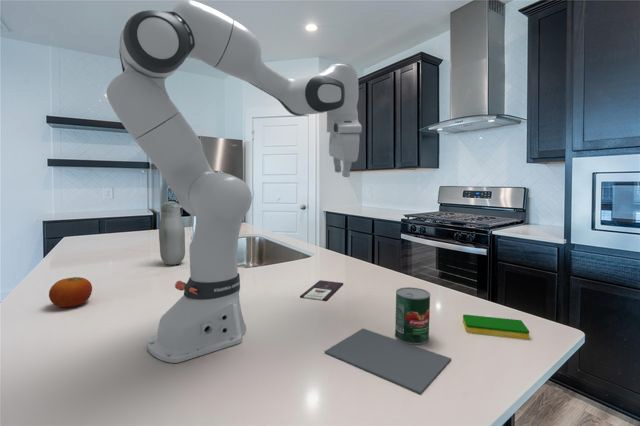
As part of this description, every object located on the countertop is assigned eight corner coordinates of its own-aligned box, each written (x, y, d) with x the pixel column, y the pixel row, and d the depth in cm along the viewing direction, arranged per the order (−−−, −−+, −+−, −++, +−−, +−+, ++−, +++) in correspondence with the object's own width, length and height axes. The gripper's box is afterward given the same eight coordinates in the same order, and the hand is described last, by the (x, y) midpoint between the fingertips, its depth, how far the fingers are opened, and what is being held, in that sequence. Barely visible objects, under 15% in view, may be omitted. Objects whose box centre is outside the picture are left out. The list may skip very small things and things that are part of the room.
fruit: (41, 308, 100) (39, 282, 99) (77, 297, 109) (75, 272, 109) (66, 313, 96) (64, 286, 95) (101, 301, 106) (99, 276, 105)
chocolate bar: (343, 282, 122) (326, 299, 106) (343, 285, 122) (326, 302, 106) (319, 280, 125) (299, 296, 109) (319, 282, 126) (299, 298, 109)
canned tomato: (406, 326, 87) (407, 285, 86) (435, 336, 82) (436, 292, 81) (388, 336, 82) (389, 292, 81) (418, 348, 76) (419, 300, 75)
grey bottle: (165, 262, 155) (162, 200, 152) (188, 261, 156) (185, 200, 153) (157, 267, 145) (153, 202, 142) (182, 266, 146) (179, 201, 143)
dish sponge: (462, 322, 91) (462, 313, 91) (520, 328, 87) (521, 319, 87) (466, 334, 84) (466, 324, 84) (529, 341, 80) (530, 331, 80)
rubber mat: (420, 394, 60) (420, 392, 60) (324, 353, 74) (324, 351, 74) (451, 360, 71) (451, 358, 71) (362, 329, 86) (362, 328, 86)
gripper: (324, 125, 106) (324, 170, 110) (340, 126, 87) (339, 180, 90) (343, 125, 107) (343, 169, 111) (363, 126, 88) (362, 179, 91)
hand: (341, 174), depth 100 cm, fingers open, 8 cm apart
